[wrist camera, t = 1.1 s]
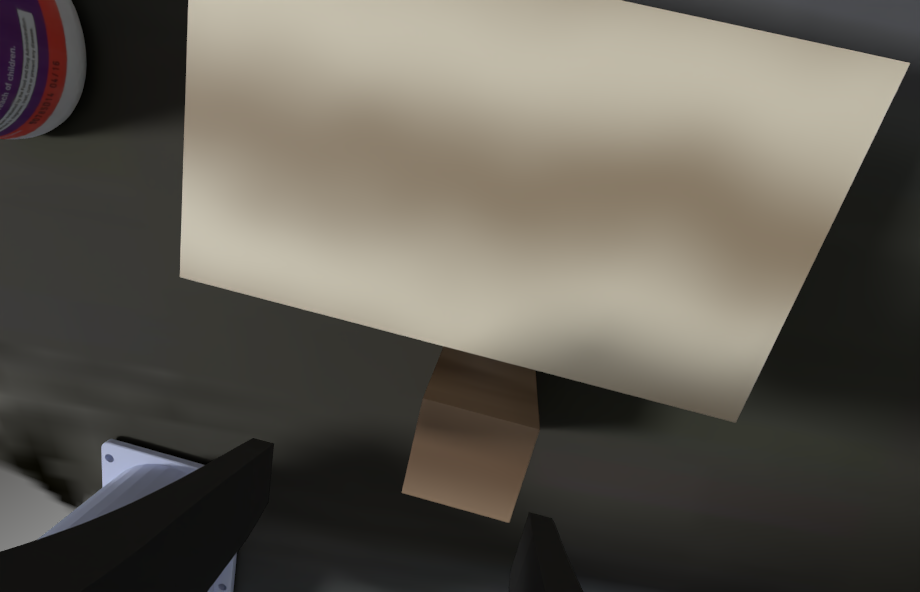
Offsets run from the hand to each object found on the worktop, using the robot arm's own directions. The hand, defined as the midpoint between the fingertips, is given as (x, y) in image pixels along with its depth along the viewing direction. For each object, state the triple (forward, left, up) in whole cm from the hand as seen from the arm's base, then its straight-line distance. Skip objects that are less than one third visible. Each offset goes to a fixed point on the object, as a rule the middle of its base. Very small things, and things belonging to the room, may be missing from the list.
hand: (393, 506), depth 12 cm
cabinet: (+8, 0, -10) cm, 13 cm away
